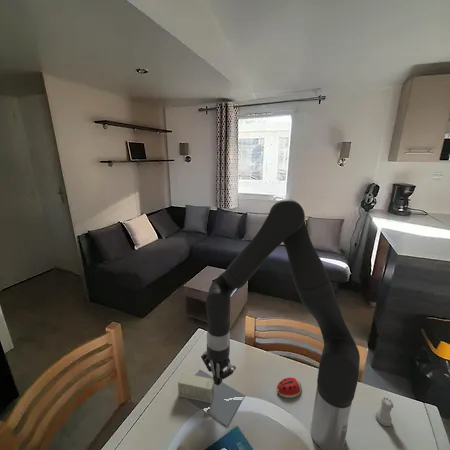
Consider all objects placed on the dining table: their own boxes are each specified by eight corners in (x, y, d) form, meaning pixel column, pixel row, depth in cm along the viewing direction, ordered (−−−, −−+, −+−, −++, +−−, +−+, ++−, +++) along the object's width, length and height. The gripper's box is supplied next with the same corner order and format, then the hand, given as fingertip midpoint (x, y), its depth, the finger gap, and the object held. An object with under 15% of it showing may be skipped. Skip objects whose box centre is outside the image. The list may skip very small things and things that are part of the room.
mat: (244, 395, 83) (244, 395, 83) (227, 427, 74) (227, 426, 73) (199, 370, 93) (199, 369, 93) (179, 394, 84) (179, 393, 83)
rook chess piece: (375, 409, 79) (380, 391, 77) (391, 418, 77) (396, 400, 75) (373, 420, 76) (378, 401, 74) (390, 430, 73) (395, 411, 71)
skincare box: (214, 378, 83) (182, 371, 85) (211, 390, 78) (177, 382, 81) (214, 392, 84) (182, 385, 87) (211, 404, 80) (177, 396, 82)
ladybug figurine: (305, 393, 85) (306, 386, 84) (282, 403, 81) (283, 395, 80) (294, 378, 91) (294, 370, 90) (272, 386, 87) (273, 379, 86)
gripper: (241, 341, 76) (239, 383, 80) (208, 326, 82) (208, 366, 87) (230, 357, 69) (228, 402, 74) (195, 339, 76) (195, 381, 81)
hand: (217, 382), depth 80 cm, fingers closed
